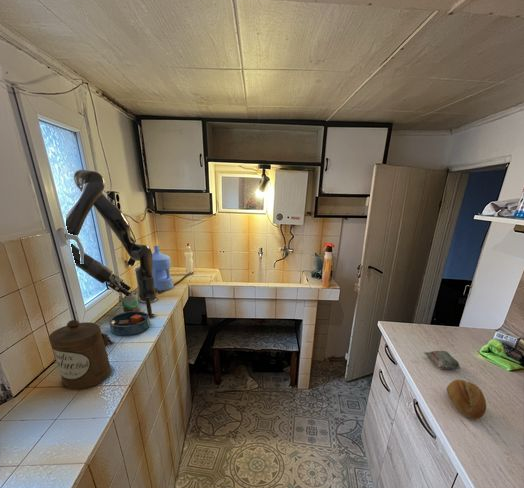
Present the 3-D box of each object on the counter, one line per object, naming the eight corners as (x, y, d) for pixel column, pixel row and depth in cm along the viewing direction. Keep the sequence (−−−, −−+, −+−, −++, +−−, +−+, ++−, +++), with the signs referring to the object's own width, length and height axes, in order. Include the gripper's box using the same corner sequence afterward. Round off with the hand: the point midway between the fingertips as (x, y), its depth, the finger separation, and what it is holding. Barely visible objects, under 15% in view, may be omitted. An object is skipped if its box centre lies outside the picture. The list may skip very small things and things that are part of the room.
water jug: (144, 290, 187) (137, 247, 176) (159, 283, 201) (153, 243, 189) (164, 292, 183) (159, 249, 172) (178, 285, 197) (173, 245, 185)
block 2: (137, 321, 141) (135, 314, 140) (143, 322, 140) (142, 315, 138) (131, 324, 138) (129, 317, 136) (138, 326, 137) (136, 318, 135)
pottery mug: (119, 344, 123) (112, 334, 116) (103, 362, 118) (96, 352, 111) (96, 333, 125) (89, 323, 118) (80, 350, 119) (71, 341, 113)
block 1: (120, 327, 135) (119, 320, 133) (130, 327, 136) (128, 319, 134) (119, 331, 131) (118, 323, 129) (128, 330, 132) (127, 323, 131)
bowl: (120, 320, 144) (118, 311, 142) (155, 320, 145) (153, 311, 143) (103, 336, 128) (101, 326, 126) (142, 336, 129) (141, 326, 127)
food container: (135, 316, 149) (131, 298, 145) (123, 315, 149) (120, 298, 145) (144, 307, 160) (141, 290, 156) (133, 307, 160) (130, 290, 156)
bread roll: (454, 419, 86) (463, 399, 83) (437, 389, 99) (444, 370, 96) (489, 425, 84) (500, 404, 81) (467, 393, 98) (475, 374, 94)
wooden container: (53, 384, 96) (33, 327, 87) (88, 361, 109) (73, 309, 100) (88, 393, 93) (71, 334, 84) (120, 368, 106) (108, 315, 97)
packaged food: (436, 372, 108) (440, 361, 106) (421, 356, 119) (425, 346, 117) (459, 373, 108) (463, 363, 106) (442, 357, 119) (446, 347, 117)
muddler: (147, 315, 150) (144, 296, 146) (155, 315, 151) (152, 296, 146) (145, 318, 147) (141, 298, 142) (152, 318, 147) (149, 298, 142)
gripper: (101, 269, 125) (134, 290, 134) (105, 261, 137) (134, 282, 146) (91, 281, 125) (123, 302, 134) (95, 273, 137) (125, 293, 146)
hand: (129, 292), depth 140 cm, fingers open, 8 cm apart
